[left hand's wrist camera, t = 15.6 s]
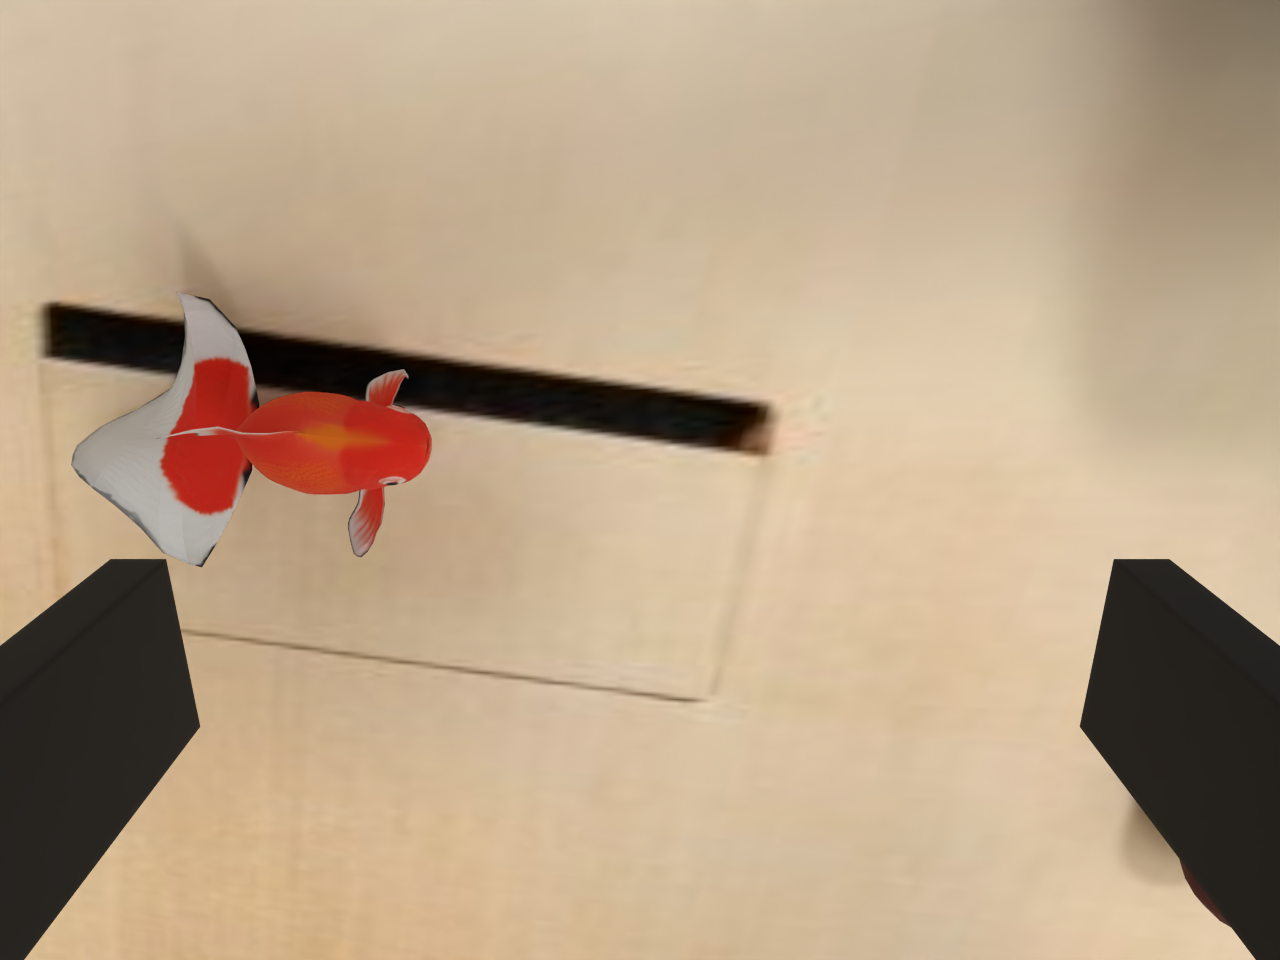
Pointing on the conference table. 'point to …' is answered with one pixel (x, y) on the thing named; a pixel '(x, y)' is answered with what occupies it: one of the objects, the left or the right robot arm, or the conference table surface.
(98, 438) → the fish
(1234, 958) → the conference table surface
